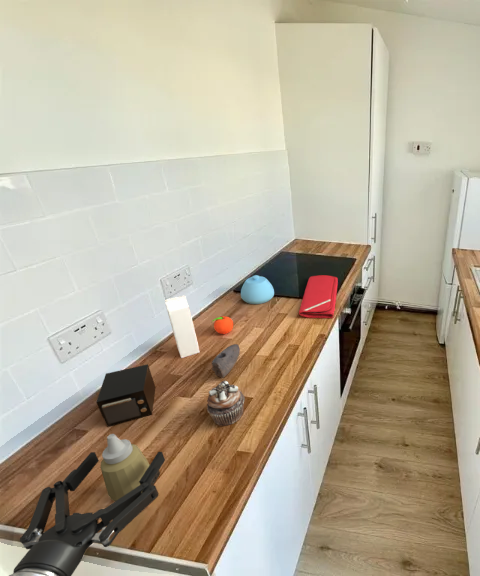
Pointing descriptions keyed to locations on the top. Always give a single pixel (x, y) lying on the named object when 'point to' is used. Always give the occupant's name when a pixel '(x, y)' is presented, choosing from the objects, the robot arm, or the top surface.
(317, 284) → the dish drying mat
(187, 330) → the milk
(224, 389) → the cupcake
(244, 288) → the sugar bowl
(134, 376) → the toaster oven
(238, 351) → the perforated stone tool
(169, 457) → the top surface
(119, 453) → the squeeze bottle
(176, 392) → the top surface
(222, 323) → the clementine
